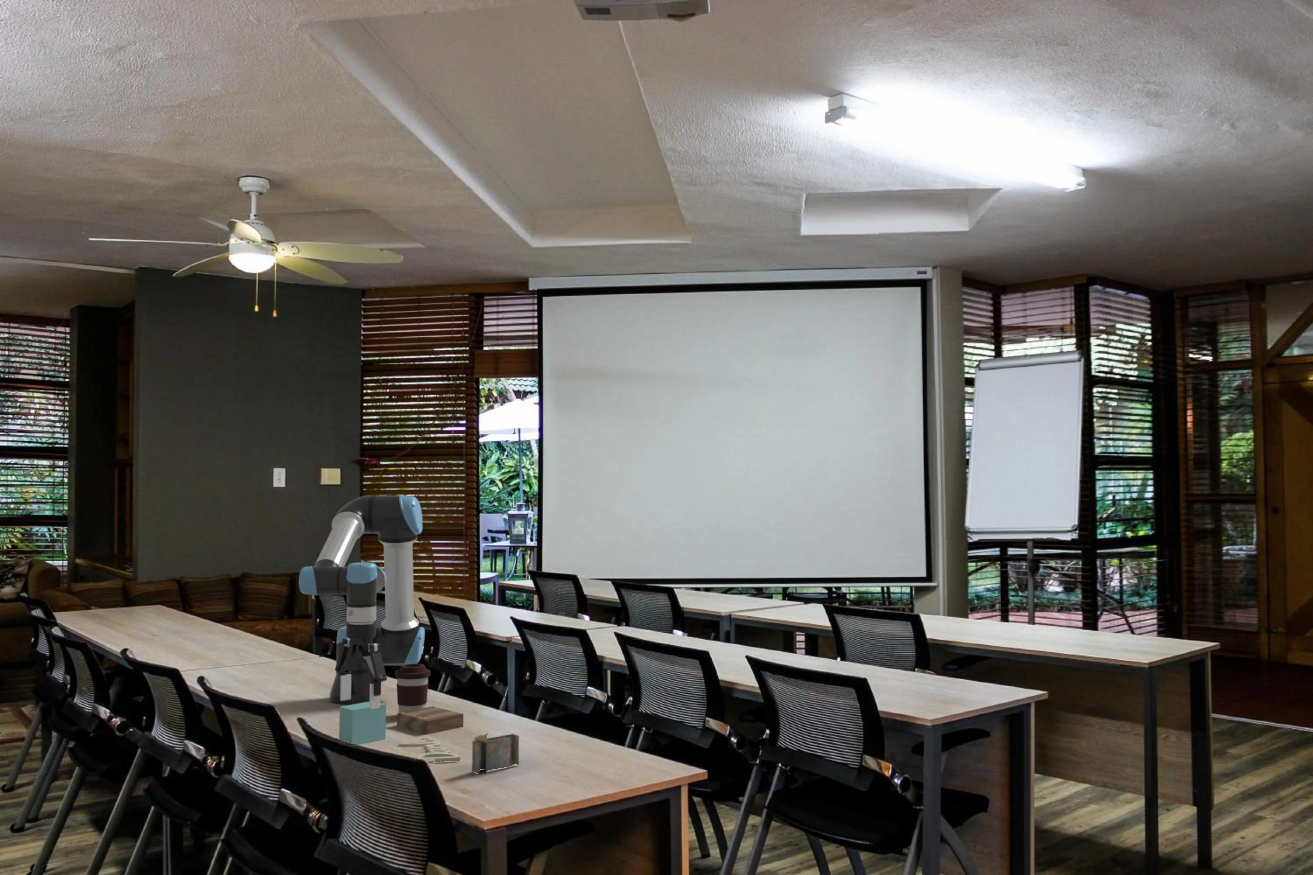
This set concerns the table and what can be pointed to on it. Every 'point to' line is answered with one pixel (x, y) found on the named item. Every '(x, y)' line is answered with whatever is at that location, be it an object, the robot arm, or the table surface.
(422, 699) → the coffee cup
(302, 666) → the table surface
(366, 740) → the light teal block
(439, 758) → the decorative sign
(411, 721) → the brown block
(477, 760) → the rusty metal bracket
